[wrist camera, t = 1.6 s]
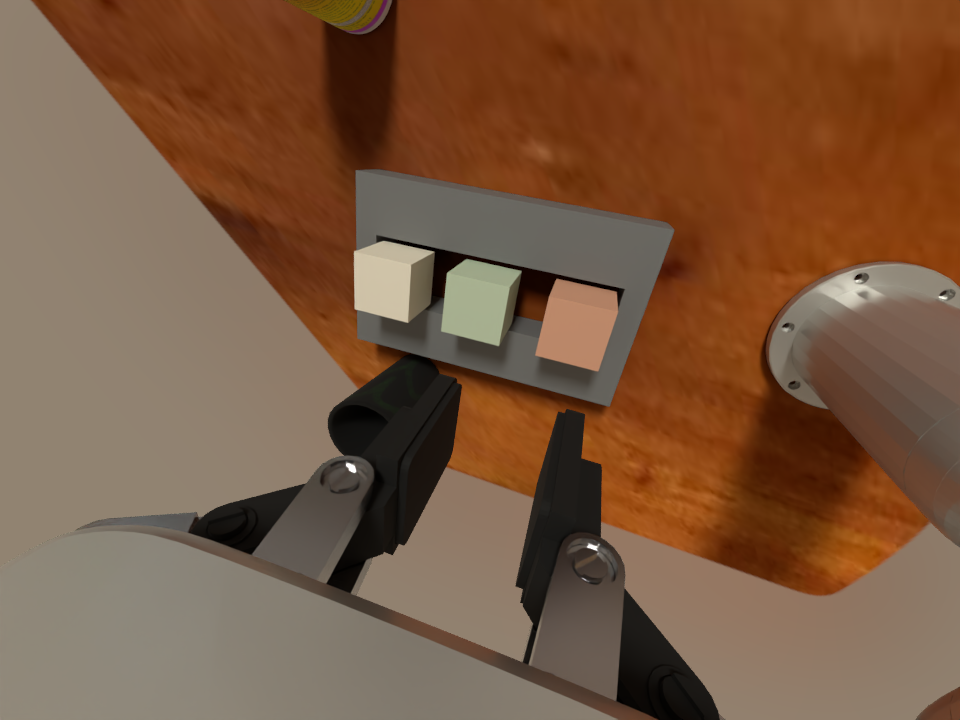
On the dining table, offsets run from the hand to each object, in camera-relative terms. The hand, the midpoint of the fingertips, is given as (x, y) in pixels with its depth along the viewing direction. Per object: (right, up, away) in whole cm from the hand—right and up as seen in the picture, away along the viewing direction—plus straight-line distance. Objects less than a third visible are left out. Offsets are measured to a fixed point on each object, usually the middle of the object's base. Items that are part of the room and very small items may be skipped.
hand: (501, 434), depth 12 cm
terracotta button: (+8, +6, +22) cm, 24 cm away
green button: (0, +8, +23) cm, 25 cm away
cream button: (-7, +10, +25) cm, 28 cm away
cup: (-8, +1, +34) cm, 35 cm away
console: (+1, +10, +26) cm, 28 cm away
